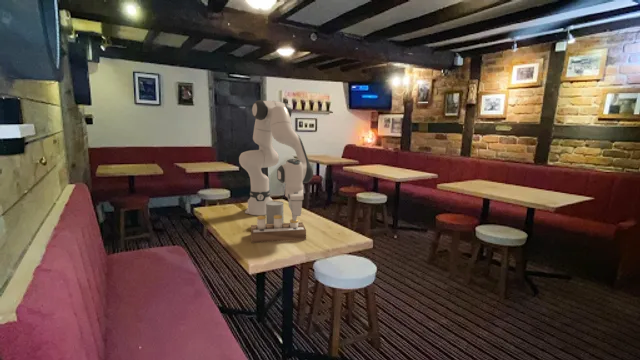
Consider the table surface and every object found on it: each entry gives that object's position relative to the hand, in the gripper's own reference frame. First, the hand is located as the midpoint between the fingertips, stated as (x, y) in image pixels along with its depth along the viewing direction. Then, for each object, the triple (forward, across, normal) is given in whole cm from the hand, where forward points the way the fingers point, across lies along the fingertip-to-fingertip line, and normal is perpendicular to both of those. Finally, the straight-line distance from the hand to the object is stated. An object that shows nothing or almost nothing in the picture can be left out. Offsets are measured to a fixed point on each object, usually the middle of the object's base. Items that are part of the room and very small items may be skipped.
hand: (294, 220), depth 166 cm
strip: (+3, +4, -8) cm, 10 cm away
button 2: (+8, 0, 0) cm, 8 cm away
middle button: (+5, 0, -8) cm, 10 cm away
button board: (+8, 0, -8) cm, 12 cm away
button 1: (+5, 0, -16) cm, 17 cm away
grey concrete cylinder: (+8, -20, -8) cm, 23 cm away
